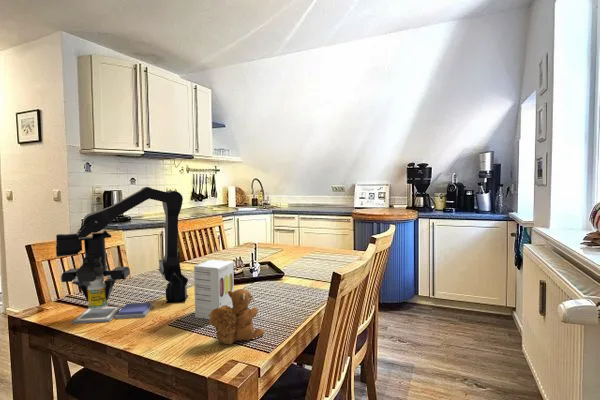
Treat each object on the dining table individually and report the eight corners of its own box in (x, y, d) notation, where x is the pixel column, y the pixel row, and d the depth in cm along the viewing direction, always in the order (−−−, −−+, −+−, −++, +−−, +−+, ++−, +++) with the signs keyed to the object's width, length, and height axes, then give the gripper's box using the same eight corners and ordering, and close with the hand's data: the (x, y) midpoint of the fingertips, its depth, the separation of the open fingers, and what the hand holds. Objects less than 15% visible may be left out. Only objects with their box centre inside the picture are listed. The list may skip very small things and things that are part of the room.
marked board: (122, 308, 121) (122, 306, 121) (109, 321, 110) (109, 319, 110) (88, 310, 119) (88, 307, 119) (71, 323, 108) (71, 321, 108)
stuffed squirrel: (266, 334, 101) (266, 289, 100) (225, 353, 90) (224, 303, 89) (244, 324, 107) (244, 282, 106) (204, 341, 97) (202, 294, 96)
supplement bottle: (106, 302, 118) (105, 274, 117) (108, 307, 114) (106, 278, 113) (88, 306, 115) (86, 277, 114) (89, 311, 111) (87, 281, 110)
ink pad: (153, 306, 122) (152, 301, 122) (145, 317, 113) (144, 311, 113) (125, 308, 121) (125, 303, 121) (115, 318, 112) (115, 313, 112)
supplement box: (219, 321, 109) (217, 268, 108) (194, 317, 112) (192, 265, 111) (235, 310, 118) (234, 261, 117) (211, 307, 121) (210, 258, 120)
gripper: (49, 259, 104) (52, 311, 105) (116, 257, 106) (119, 307, 107) (69, 251, 115) (71, 298, 116) (129, 249, 117) (131, 295, 118)
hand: (98, 300), depth 114 cm, fingers closed on supplement bottle, 5 cm apart
